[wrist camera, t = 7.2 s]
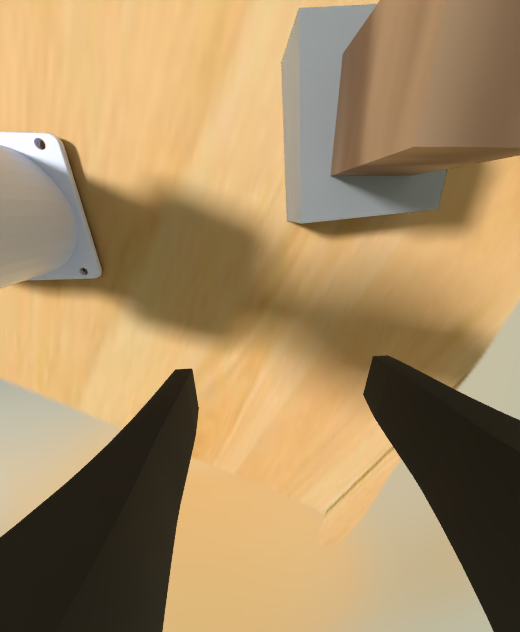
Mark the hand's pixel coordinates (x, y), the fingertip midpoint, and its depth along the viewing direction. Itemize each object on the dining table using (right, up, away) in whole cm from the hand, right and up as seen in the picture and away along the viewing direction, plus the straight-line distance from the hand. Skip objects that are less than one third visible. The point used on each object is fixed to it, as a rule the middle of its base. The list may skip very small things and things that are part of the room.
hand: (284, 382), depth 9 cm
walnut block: (+5, +12, +2) cm, 13 cm away
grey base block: (+4, +14, +6) cm, 15 cm away
